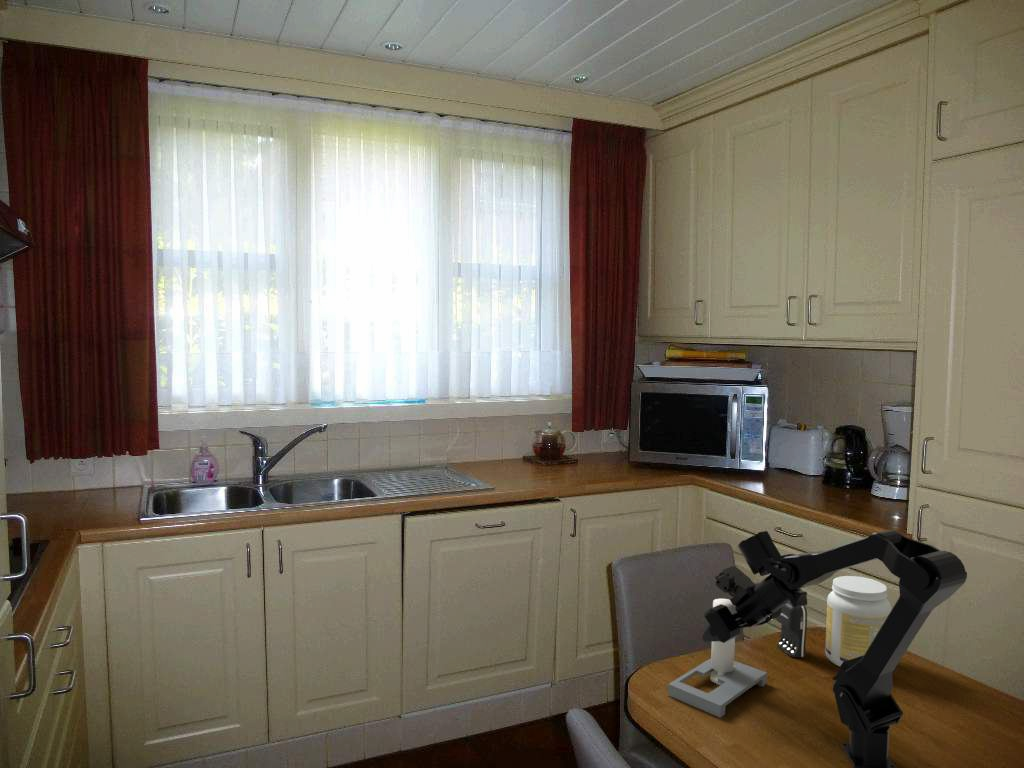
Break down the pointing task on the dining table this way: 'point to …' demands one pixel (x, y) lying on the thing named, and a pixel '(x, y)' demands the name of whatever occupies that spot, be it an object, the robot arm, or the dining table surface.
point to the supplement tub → (854, 616)
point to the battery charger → (793, 630)
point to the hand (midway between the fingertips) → (717, 633)
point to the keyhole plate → (722, 695)
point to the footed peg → (722, 649)
